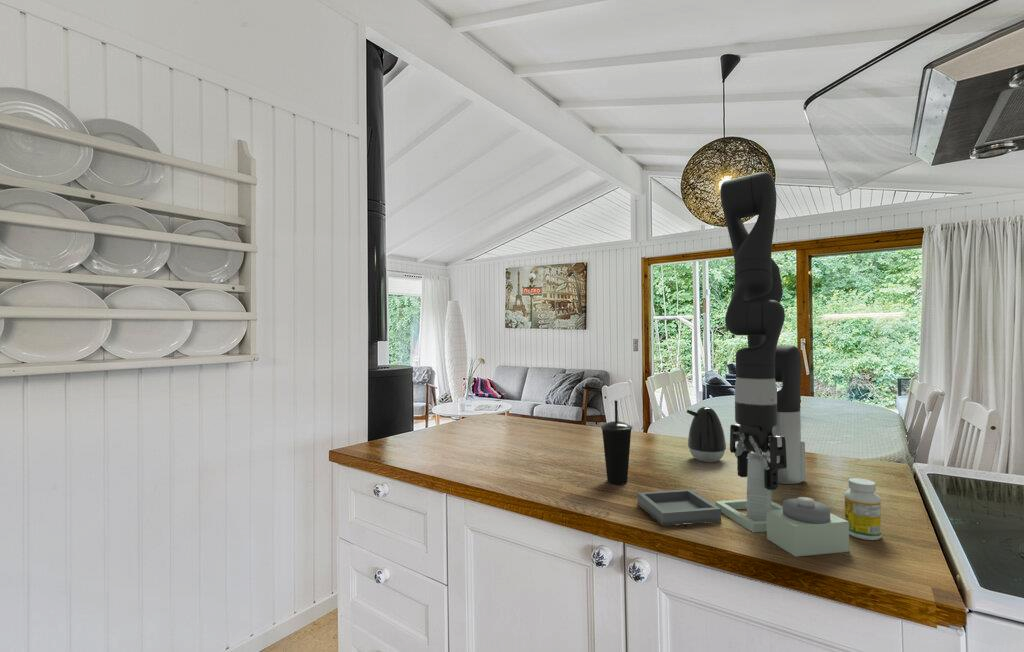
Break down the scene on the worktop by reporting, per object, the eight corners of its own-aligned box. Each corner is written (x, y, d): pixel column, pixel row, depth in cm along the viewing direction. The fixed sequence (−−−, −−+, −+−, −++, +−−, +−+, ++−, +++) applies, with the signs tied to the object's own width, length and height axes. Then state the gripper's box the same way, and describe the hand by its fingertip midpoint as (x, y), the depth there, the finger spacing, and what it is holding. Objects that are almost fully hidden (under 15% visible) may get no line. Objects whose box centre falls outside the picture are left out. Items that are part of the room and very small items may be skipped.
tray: (689, 500, 107) (689, 489, 107) (721, 521, 95) (721, 508, 95) (637, 504, 105) (637, 492, 105) (663, 526, 93) (663, 513, 93)
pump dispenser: (683, 455, 145) (682, 404, 145) (720, 455, 144) (719, 404, 144) (691, 464, 135) (690, 409, 135) (731, 465, 134) (730, 409, 134)
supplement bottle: (880, 543, 84) (879, 488, 84) (843, 535, 88) (842, 482, 88) (882, 533, 88) (881, 480, 88) (846, 526, 92) (845, 475, 92)
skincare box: (746, 510, 100) (745, 451, 100) (771, 514, 98) (770, 453, 98) (747, 521, 95) (745, 459, 95) (773, 525, 93) (772, 461, 93)
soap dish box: (765, 504, 103) (764, 468, 104) (852, 551, 82) (851, 504, 82) (715, 508, 102) (714, 471, 102) (791, 556, 80) (790, 509, 80)
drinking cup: (627, 488, 116) (625, 403, 116) (597, 483, 120) (595, 401, 120) (637, 479, 122) (635, 399, 122) (608, 475, 126) (607, 398, 126)
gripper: (798, 405, 90) (799, 493, 90) (750, 395, 104) (751, 472, 104) (761, 406, 89) (762, 495, 89) (718, 396, 103) (718, 473, 103)
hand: (756, 482), depth 97 cm, fingers open, 8 cm apart
